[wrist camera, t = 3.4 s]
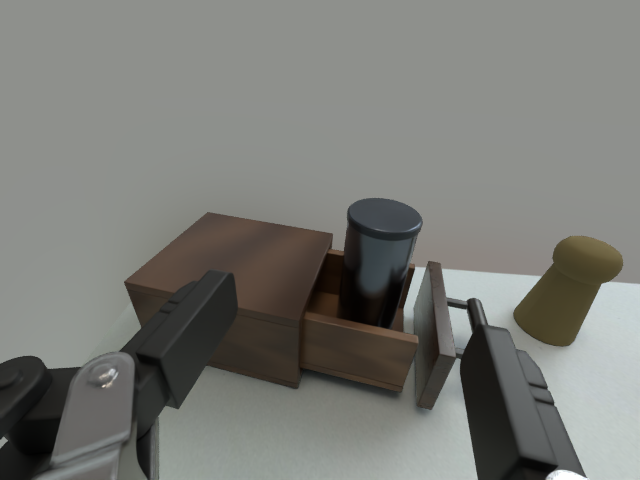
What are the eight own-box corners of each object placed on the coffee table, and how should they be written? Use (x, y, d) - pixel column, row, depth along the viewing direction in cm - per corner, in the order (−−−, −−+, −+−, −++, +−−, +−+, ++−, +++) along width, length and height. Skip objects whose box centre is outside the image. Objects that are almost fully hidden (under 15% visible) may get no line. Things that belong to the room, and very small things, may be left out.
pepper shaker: (560, 310, 37) (613, 233, 31) (585, 351, 32) (654, 269, 26) (507, 300, 38) (548, 223, 32) (523, 339, 33) (575, 256, 27)
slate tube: (338, 356, 27) (356, 233, 20) (329, 310, 32) (341, 197, 25) (398, 352, 28) (436, 232, 21) (381, 308, 33) (407, 197, 26)
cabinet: (327, 293, 37) (333, 233, 32) (297, 389, 27) (299, 320, 22) (217, 271, 39) (207, 211, 35) (149, 350, 29) (123, 281, 24)
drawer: (463, 319, 33) (485, 270, 30) (486, 424, 24) (522, 372, 20) (308, 287, 36) (310, 239, 33) (274, 370, 27) (272, 316, 23)
